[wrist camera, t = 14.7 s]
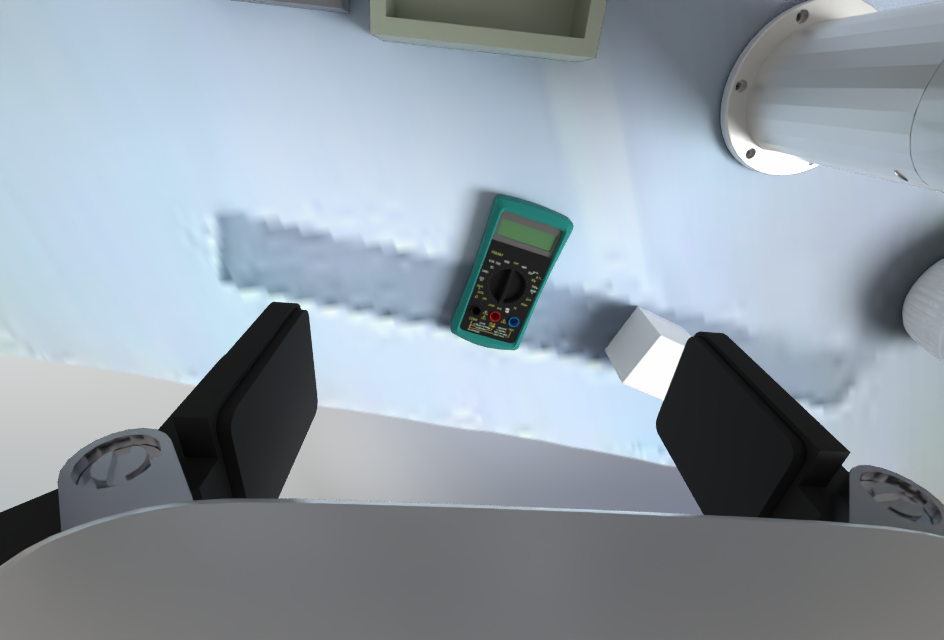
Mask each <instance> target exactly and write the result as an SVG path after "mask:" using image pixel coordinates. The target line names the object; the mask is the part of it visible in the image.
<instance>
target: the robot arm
mask: <svg viewBox="0 0 944 640" xmlns="http://www.w3.org/2000/svg"><path fill="white" fill-rule="evenodd" d="M796 17H797V19H796ZM737 84H738V87H737V88H736V85H737ZM720 123H721V129H722V135H723V138H724V140H725V143H726V145H727V148H728V149H729V151H730V152H731V154H732V155H733V156H734V158H735V159H736V160H738V161H739V162H740V163H741V164H742V165H744V166H745V167H747V168H750V169H752V170H754V171H757V172H760V173H764V174H768V175H778V176H782V175H791V174H796V173H800V172H803V171H807V170H810V169H812V168H814V167H816V166H818V165H822V166H826V167H831V168H835V169H839V170H844V171H848V172H853V173H857V174H862V175H866V176H871V177H875V178H880V179H884V180H889V181H893V182H897V183H902V184H906V185H911V186H915V187H920V188H924V189H929V190H933V191H938V192H942V193H944V0H942V1H936V2H930V3H925V4H919V5H913V6H907V7H902V8H896V9H890V10H885V11H879V12H878V10H877V9H876V8H875V7H874V6H872V5H871V4H869V3H867V2H866V1H864V0H809V1H806V2H803V3H800V4H797V5H795V6H794V7H792V8H790V9H788V10H786V11H784V12H783V13H781V14H779V15H778V16H777V17H775V18H774V19H773V20H772V21H770V22H769V23H768V24H766V25H765V26H764V27H763V28H762V29H761V30H760V31H759V32H758V33H757V34H756V35H755V36H754V37H753V38H752V39H751V41H750V42H749V43H748V45H747V46H746V47H745V49H744V50H743V52H742V53H741V54H740V56H739V57H738V59H737V61H736V63H735V65H734V67H733V69H732V70H731V72H730V75H729V78H728V80H727V83H726V86H725V88H724V93H723V98H722V102H721V116H720ZM746 152H747V153H746ZM317 403H318V400H317V389H316V380H315V370H314V360H313V351H312V341H311V331H310V322H309V314H308V311H307V310H301V308H300V305H299V304H296V303H282V302H272V303H270V305H269V306H268V307H267V308H266V309H265V310H264V311H263V313H262V314H261V315H260V316H259V317H258V318H257V319H256V321H255V322H254V323H253V324H252V325H251V326H250V327H249V329H248V330H247V331H246V332H245V333H244V334H243V335H242V337H241V338H240V339H239V340H238V341H237V342H236V343H235V345H234V346H233V347H232V348H231V349H230V350H229V351H228V353H227V354H226V355H224V356H223V357H222V358H221V359H220V360H219V361H218V362H217V363H216V365H215V366H214V367H213V368H212V369H211V370H210V371H209V373H208V374H207V375H206V376H205V377H204V378H203V379H202V380H201V382H200V383H199V384H198V385H197V386H196V387H195V388H194V390H193V391H192V392H191V393H190V394H189V395H188V396H187V398H186V399H185V400H184V401H183V402H182V403H181V404H180V406H179V407H178V408H177V409H176V410H175V411H174V412H173V413H172V415H171V416H170V417H169V418H168V419H167V420H166V421H165V423H164V424H163V425H162V426H161V427H160V428H159V429H158V430H157V429H148V428H138V429H128V430H124V431H121V432H117V433H113V434H110V435H108V436H105V437H103V438H100V439H98V440H96V441H94V442H92V443H90V444H89V445H87V446H85V447H84V448H82V449H80V450H79V451H78V452H77V453H76V454H75V455H73V456H72V457H71V458H70V459H69V460H68V461H67V462H66V464H65V465H64V466H63V468H62V469H61V470H60V473H59V478H58V489H56V490H54V491H51V492H49V493H46V494H44V495H42V496H39V497H37V498H34V499H32V500H30V501H27V502H25V503H22V504H20V505H18V506H15V507H13V508H10V509H8V510H5V511H3V512H1V513H0V640H944V505H943V504H942V503H941V502H940V500H938V499H937V498H936V497H935V496H933V495H932V494H931V493H930V492H928V491H927V490H926V489H924V488H923V487H921V486H919V485H918V484H916V483H915V482H913V481H911V480H909V479H907V478H905V477H903V476H901V475H899V474H897V473H895V472H892V471H889V470H886V469H884V468H880V467H875V466H870V465H858V466H856V467H854V468H852V469H851V470H850V472H848V471H847V470H846V469H845V468H844V467H843V466H842V464H843V462H844V461H845V459H846V458H847V457H848V455H849V454H850V451H848V450H847V449H846V448H845V447H844V446H843V445H842V444H841V443H840V442H839V441H838V440H837V439H836V438H835V437H834V436H833V435H832V434H830V433H829V432H828V431H827V430H826V429H825V428H824V427H823V426H822V425H821V424H820V423H819V422H818V421H817V420H816V419H815V418H814V417H813V416H811V415H810V414H809V413H808V412H807V411H806V410H805V409H804V408H803V407H802V406H801V405H800V404H799V403H798V402H797V401H796V400H795V399H793V398H792V397H791V396H790V395H789V394H788V393H787V392H786V391H785V390H784V389H783V388H782V387H781V386H780V385H779V384H778V383H777V382H775V381H774V380H773V379H772V378H771V377H770V376H769V375H768V374H767V373H766V372H765V371H764V370H763V369H762V368H761V367H760V366H759V365H757V364H756V363H755V362H754V361H753V360H752V359H751V358H750V357H749V356H748V355H747V354H746V353H745V352H744V351H743V350H742V349H741V348H740V347H738V346H737V345H736V344H735V343H734V342H733V341H732V340H731V339H730V338H729V337H728V336H727V335H725V334H724V333H712V332H698V333H696V334H695V335H694V337H690V338H689V339H688V340H687V342H686V344H685V347H684V349H683V352H682V354H681V357H680V360H679V362H678V365H677V367H676V370H675V373H674V375H673V378H672V380H671V383H670V386H669V388H668V391H667V393H666V396H665V399H664V401H663V404H662V406H661V409H660V411H659V414H658V417H657V420H656V429H657V432H658V434H659V436H660V438H661V440H662V442H663V443H664V445H665V447H666V449H667V450H668V452H669V454H670V456H671V458H672V459H673V461H674V463H675V465H676V466H677V468H678V470H679V472H680V473H681V475H682V477H683V479H684V481H685V482H686V484H687V486H688V488H689V490H690V491H691V493H692V495H693V497H694V498H695V500H696V502H697V504H698V505H699V507H700V508H701V511H702V513H703V514H704V515H695V514H674V513H652V512H632V511H610V510H609V511H608V510H585V509H563V508H539V507H516V506H515V507H514V506H491V505H466V504H438V503H411V502H383V501H357V500H326V499H323V500H322V499H278V497H279V495H280V493H281V491H282V488H283V486H284V484H285V482H286V479H287V477H288V475H289V473H290V470H291V468H292V466H293V463H294V461H295V459H296V457H297V455H298V452H299V450H300V448H301V446H302V443H303V441H304V439H305V437H306V434H307V432H308V430H309V428H310V425H311V423H312V421H313V419H314V416H315V414H316V410H317Z"/></svg>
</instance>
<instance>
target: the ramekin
mask: <svg viewBox="0 0 944 640" xmlns="http://www.w3.org/2000/svg"><path fill="white" fill-rule="evenodd" d="M902 316H903V323H904V327H905V329H906V332H907V333H908V334H909V335H910V337H911V338H912V339H913V340H914V341H916V342H917V343H918V344H919V345H920V346H922V347H923V348H924V349H925V350H927V351H928V352H929V353H931V354H932V355H933V356H935V357H936V358H938V359H939V360H940V361H942V362H943V363H944V258H943V259H941V260H940V261H938V262H937V263H935V264H934V265H933V266H931V267H930V268H929V269H928V270H927V271H925V272H924V273H923V274H922V275H921V276H920V277H919V278H918V280H917V281H916V282H915V283H914V285H913V286H912V287H911V289H910V291H909V292H908V294H907V296H906V298H905V301H904V304H903V310H902Z"/></svg>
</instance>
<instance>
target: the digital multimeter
mask: <svg viewBox="0 0 944 640" xmlns="http://www.w3.org/2000/svg"><path fill="white" fill-rule="evenodd" d="M572 230H573V224H572V222H571V221H570V219H569V218H568V217H566V216H564V215H562V214H560V213H557V212H555V211H553V210H550V209H548V208H545V207H543V206H540V205H537V204H535V203H532V202H529V201H525V200H522V199H518V198H514V197H510V196H506V195H500V194H499V195H497V196H496V198H495V200H494V203H493V206H492V210H491V213H490V216H489V219H488V223H487V226H486V229H485V232H484V236H483V239H482V242H481V245H480V248H479V250H478V253H477V256H476V259H475V262H474V265H473V268H472V271H471V273H470V276H469V278H468V281H467V284H466V286H465V289H464V291H463V294H462V296H461V299H460V301H459V304H458V306H457V308H456V311H455V313H454V315H453V318H452V320H451V331H452V333H454V334H456V335H458V336H459V337H461V338H463V339H465V340H467V341H470V342H472V343H474V344H477V345H480V346H484V347H487V348H494V349H504V350H516V349H518V348H519V345H520V343H521V340H522V338H523V335H524V332H525V330H526V327H527V325H528V322H529V320H530V318H531V315H532V313H533V310H534V308H535V306H536V303H537V301H538V299H539V296H540V294H541V292H542V290H543V288H544V286H545V284H546V281H547V279H548V277H549V275H550V273H551V271H552V269H553V267H554V265H555V263H556V261H557V259H558V257H559V255H560V253H561V251H562V249H563V247H564V245H565V243H566V241H567V239H568V237H569V236H570V234H571V232H572ZM489 245H490V246H489ZM485 256H486V257H485ZM482 264H483V265H482ZM489 277H490V278H489ZM475 283H476V284H475ZM472 291H473V292H472ZM490 297H491V298H490ZM469 299H470V300H469ZM493 300H494V301H493ZM466 307H467V308H466ZM465 310H466V311H465ZM462 318H463V319H462ZM478 334H479V335H478ZM485 336H486V337H485Z"/></svg>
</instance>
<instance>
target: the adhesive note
mask: <svg viewBox="0 0 944 640" xmlns="http://www.w3.org/2000/svg"><path fill="white" fill-rule="evenodd" d="M690 337H691V336H690V335H689V333H688V332H687V331H686V330H685V329H684V328H683V327H681V326H679V325H677V324H674V323H672V322H670V321H668V320H666V319H664V318H662V317H660V316H658V315H656V314H653V313H651V312H649V311H647V310H645V309H643V308H641V307H639V306H637V308H636V309H635V310H634V312H633V313H632V314H631V316H630V317H629V318H628V320H627V321H626V322H625V324H624V325H623V326H622V328H621V329H620V330H619V332H618V333H617V334H616V336H615V337H614V338H613V340H612V341H611V342H610V344H609V345H608V346H607V348H606V349H605V352H606V354H607V356H608V357H609V359H610V361H611V363H612V365H613V367H614V368H615V370H616V372H617V374H618V376H619V378H620V380H621V381H622V383H623V384H626V385H628V386H630V387H633V388H635V389H638V390H640V391H642V392H645V393H647V394H649V395H652V396H654V397H657V398H659V399H661V400H664V399H665V396H666V393H667V391H668V388H669V386H670V383H671V380H672V378H673V375H674V373H675V370H676V367H677V365H678V362H679V360H680V357H681V354H682V352H683V349H684V347H685V344H686V342H687V340H688V339H689V338H690Z"/></svg>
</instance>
